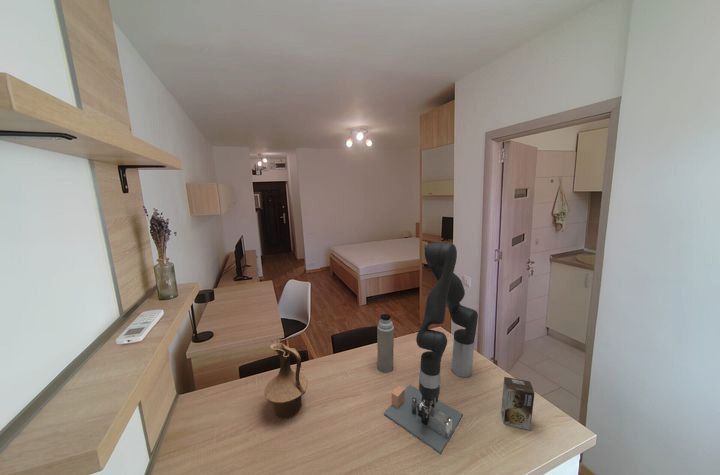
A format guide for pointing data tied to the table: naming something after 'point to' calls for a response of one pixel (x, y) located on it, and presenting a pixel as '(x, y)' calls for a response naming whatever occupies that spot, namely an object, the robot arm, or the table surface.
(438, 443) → the slate board
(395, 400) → the block
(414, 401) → the post
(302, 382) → the pitcher
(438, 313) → the robot arm
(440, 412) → the bar
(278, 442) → the table surface
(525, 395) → the coffee box
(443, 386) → the table surface
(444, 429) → the jaw
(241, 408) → the table surface
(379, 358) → the thermos bottle
